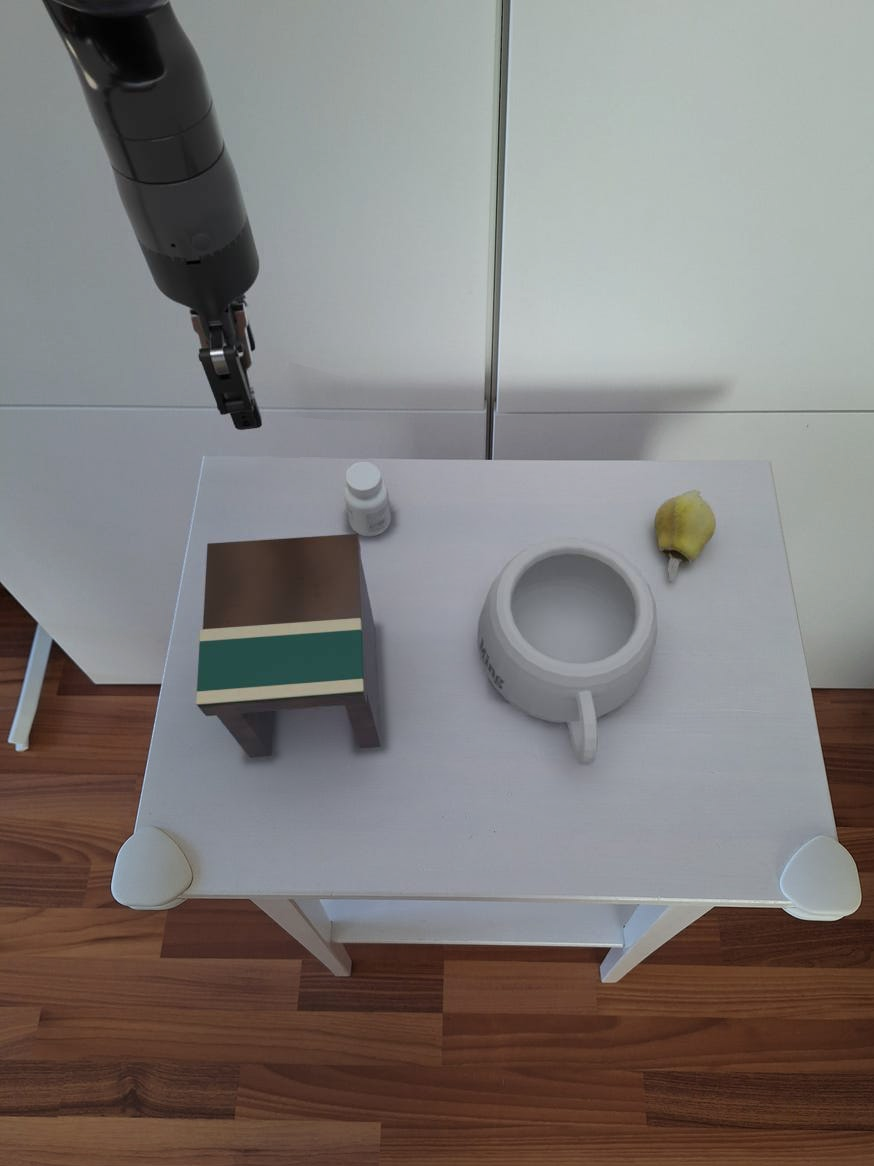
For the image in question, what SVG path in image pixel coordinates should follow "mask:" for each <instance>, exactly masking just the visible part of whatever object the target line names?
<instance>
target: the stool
mask: <svg viewBox="0 0 874 1166" xmlns="http://www.w3.org/2000/svg"><path fill="white" fill-rule="evenodd" d="M361 549H362V548H361V543H360V538H359V534H358V533H348V534H347V533H346V534H332V535H315V536H302V537H285V538H271V539H256V540H242V541H239V540H238V541H228V542H227V541H225V542H223V541H222V542H210V543H209V542H208V543H207V545H206V561H205V562H206V563H205V580H204V599H203V600H204V601H203V619H202V629H215V628H229V627H243V626H257V625H270V624H284V623H298V622H312V621H325V620H339V619H353V618H361V625H362V651H363V676H364V694H354V695H341V696H329V697H316V698H304V699H291V700H278V701H266V702H253V703H241V704H228V705H215V706H203V707H198V708H199V709H200V711H201V712H202V713H203V715H204V716H205V717H213V716H216V717H217V719H219V721H220V722H221V724H222V725H223V726H224V727H225V728H226V730H227V731H228V732H229V734H230V735H231V736H232V737H233V739H234V740H235V741H236V742H237V744H238V745H239V746H240V747H241V749H242V750H243V751H244V752H245V754H246V755H247V756H248V757H249V758H260V757H271V756H272V749H273V747H272V742H273V741H272V739H273V736H272V735H273V712H276V711H288V710H289V711H290V710H301V709H313V708H315V709H316V708H326V707H327V708H328V707H337V706H338V707H339V706H344V708H345V710H346V715H347V717H348V719H349V723H350V725H351V727H352V730H353V734H354V736H355V739H356V742H357V745H358V748H359V749H368V748H369V749H370V748H380V747H382V737H381V715H380V699H379V698H380V695H379V694H380V693H379V692H380V691H379V673H378V671H379V670H378V654H377V653H378V651H377V649H378V648H377V634H376V633H377V632H376V625H375V621H374V615H373V610H372V606H371V599H370V596H369V591H368V586H367V581H366V576H365V571H364V566H363V561H362V552H361Z"/></svg>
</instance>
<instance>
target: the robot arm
mask: <svg viewBox="0 0 874 1166" xmlns="http://www.w3.org/2000/svg"><path fill="white" fill-rule="evenodd" d="M41 2H42V4H43V6H44V8H45V10H46V12H47V14H48V16H49V18H50V20H51V22H52V24H53V26H54V28H55V30H56V32H57V34H58V36H59V38H60V40H61V41H62V43H63V46H64V47H65V49H66V51H67V55H68V56H69V59H70V62H71V64H72V66H73V69H74V71H75V73H76V74H75V75H76V76H77V79H78V82H79V85H80V87H81V91H82V94H83V97H84V100H85V104H86V106H87V109H88V112H89V114H90V117H91V118H92V122H93V123H94V127H95V128H96V131H97V133H98V136H99V139H100V142H101V144H102V145H103V148H104V151H105V153H106V155H107V157H108V160H109V164H110V166H111V169H112V172H113V176H114V180H115V184H116V188H117V192H118V195H119V198H120V201H121V203H122V206H123V209H124V211H125V213H126V216H127V218H128V220H129V223H130V225H131V227H132V229H133V232H134V235H135V237H136V240H137V243H138V245H139V247H140V250H141V252H142V254H143V257H144V260H145V262H146V265H147V266H148V269H149V271H150V274H151V276H152V279H153V282H154V284H155V285H156V287H157V288H158V290H159V291H160V292H161V293H162V294H163V295H164V296H165V297H167V298H168V299H169V300H171V301H172V302H174V303H177V304H180V305H182V306H184V307H187V308H189V315H190V316H189V317H190V320H191V324H192V328H193V331H194V332H195V333H196V334H197V336H198V339H199V344H200V347H199V349H198V353H197V354H198V361H199V362H200V363H201V365H202V368H203V371H204V374H205V376H206V379H207V381H208V385H209V387H210V390H211V393H212V395H213V399H214V400H215V403H216V408H217V411H218V412H219V414H220V415H221V416H223V415H228V414H229V415H230V418H231V420H232V423H233V425H234V428H235V429H237V430H239V431H243V430H244V431H245V430H252V429H260V428H261V427H262V426H263V420H262V414H261V412H260V409H259V405H258V403H257V399H256V396H255V394H256V392H255V391H256V390H255V387H254V386H253V384H252V380H251V375H250V371H249V369H250V368H251V367H252V365H253V363H254V357H253V353H252V352H254V351H255V350H256V341H255V337H254V334H253V330H252V327H251V324H250V323H251V322H250V320H249V316H248V314H247V312H248V307H249V300H248V295H247V292H248V291H249V290H250V289H251V288H252V286H254V284H255V282H256V281H257V278H258V275H259V273H260V272H259V271H260V258H259V254H258V250H257V246H256V242H255V239H254V235H253V231H252V227H251V223H250V219H249V216H248V212H247V208H246V204H245V200H244V197H243V193H242V189H241V185H240V182H239V178H238V174H237V172H236V168H235V165H234V163H233V160H232V158H231V155H230V153H229V150H228V148H227V146H226V142H225V138H224V136H223V132H222V128H221V124H220V121H219V117H218V114H217V110H216V106H215V102H214V98H213V94H212V91H211V88H210V83H209V81H208V77H207V73H206V71H205V68H204V66H203V64H202V62H201V58H200V56H199V54H198V52H197V51H196V49H195V47H194V44H193V43H192V41H191V39H190V38H189V36H188V35H187V33H186V32H185V30H184V28H183V27H182V25H181V23H180V21H179V20H178V18H177V15H176V13H175V11H174V9H173V5H172V3H171V0H41ZM241 353H242V355H241V356H240V354H241Z"/></svg>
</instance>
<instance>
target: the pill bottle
mask: <svg viewBox="0 0 874 1166" xmlns="http://www.w3.org/2000/svg"><path fill="white" fill-rule="evenodd" d="M343 496H344V497H343V498H344V503H345V508H346V512H347V518H348V521H349V525H350V527H351V529H352V530H353V531H354V532H355V533H356V534H358V535H361V536H363V537H375V536H379V535H382V534H383V533H384V532H385V531H387V529H388V528H389V526H390V524H391V521H392V513H391V506H390V496H389V490H388V486H387V484H386V482H385V481H384V479H383V477H382V473H381V470H380V469H379V467H378V466H377V465H376V464H375V463H372V462H369V461H358V462H356V463H353V464H352V465H351V466H349V467H348V469H347V470H346V472H345V485H344V489H343Z"/></svg>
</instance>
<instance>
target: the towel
mask: <svg viewBox="0 0 874 1166" xmlns="http://www.w3.org/2000/svg"><path fill="white" fill-rule="evenodd" d="M198 640H199V645H198V661H197V662H198V663H197V679H196V680H197V681H196V694H195V695H196V696H195V697H196V698H195V704H196V706H197V707H198V708H199V707H203V706H215V705H228V704H241V703H253V702H266V701H278V700H291V699H304V698H316V697H329V696H341V695H354V694H364V676H363V651H362V625H361V618H353V619H339V620H325V621H312V622H298V623H284V624H270V625H257V626H243V627H229V628H215V629H203V628H202V629H199V639H198Z"/></svg>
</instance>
